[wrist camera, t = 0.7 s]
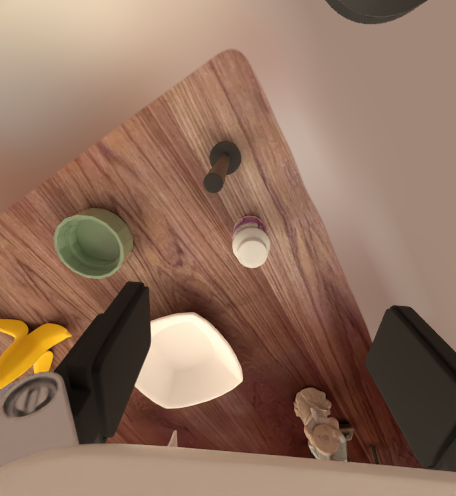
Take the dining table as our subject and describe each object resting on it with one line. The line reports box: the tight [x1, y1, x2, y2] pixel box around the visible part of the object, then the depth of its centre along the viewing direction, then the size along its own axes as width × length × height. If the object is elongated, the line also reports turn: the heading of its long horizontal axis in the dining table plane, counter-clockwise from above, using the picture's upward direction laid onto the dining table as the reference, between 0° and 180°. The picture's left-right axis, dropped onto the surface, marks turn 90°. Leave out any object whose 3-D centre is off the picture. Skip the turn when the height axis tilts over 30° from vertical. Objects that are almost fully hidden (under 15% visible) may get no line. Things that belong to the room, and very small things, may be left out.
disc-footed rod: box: [203, 142, 241, 193], centre depth 28 cm, size 4×4×22 cm
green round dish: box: [54, 208, 133, 279], centre depth 42 cm, size 11×11×4 cm
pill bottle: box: [233, 216, 270, 268], centre depth 38 cm, size 5×5×10 cm
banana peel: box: [0, 319, 72, 389], centre depth 45 cm, size 17×19×17 cm
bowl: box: [135, 312, 243, 408], centre depth 51 cm, size 22×22×5 cm
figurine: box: [294, 387, 347, 462], centre depth 49 cm, size 9×8×20 cm
